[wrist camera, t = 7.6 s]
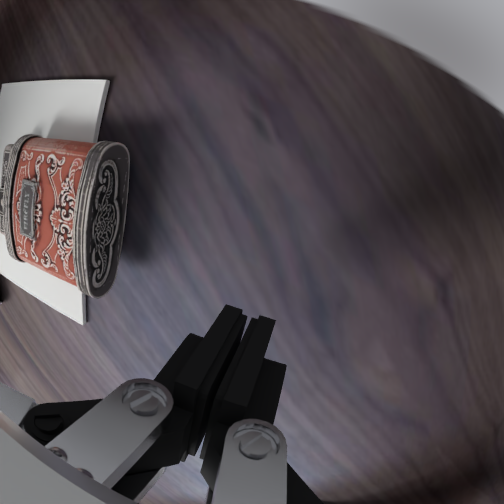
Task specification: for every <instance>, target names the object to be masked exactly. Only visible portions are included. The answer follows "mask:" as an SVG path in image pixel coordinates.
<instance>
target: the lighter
mask: <svg viewBox="0 0 504 504" xmlns="http://www.w3.org/2000/svg"><path fill="white" fill-rule="evenodd" d="M129 167H130V156H129V152H128V149H127V148H126V146H125V145H124V144H121V143H119V142H111V141H101V142H98V143H90V142H81V141H72V140H61V139H50V138H43V137H42V136H40V135H36V134H27V135H23V136H22V137H20V138H19V139H18V140H17V141H16V142H15V143H14V144H8V145H7V146H6V147H5V149H4V154H3V163H2V174H1V188H0V232H1V234H3V235H5V239H6V245H7V250H8V253H9V255H10V256H11V257H12V258H13V259H15V260H17V261H19V262H22V263H25V262H27V263H29V264H31V265H33V266H35V267H37V268H39V269H41V270H43V271H45V272H47V273H49V274H51V275H53V276H55V277H57V278H59V279H61V280H63V281H66V282H68V283H70V284H72V285H74V286H76V287H78V290H79V291H81V292H82V293H84V294H86V295H88V296H90V297H93V298H97V299H99V298H101V297H103V296H105V295H106V294H107V293H108V292H109V290H110V289H111V288H112V286H113V284H114V282H115V279H116V275H117V270H118V264H119V259H120V253H121V248H122V241H123V233H124V226H125V220H126V209H127V198H128V186H129Z"/></svg>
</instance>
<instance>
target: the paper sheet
mask: <svg viewBox="0 0 504 504" xmlns="http://www.w3.org/2000/svg"><path fill="white" fill-rule="evenodd" d="M109 84H110V81H109V80H87V79H76V80H43V81H28V82H16V83H6V84H2V88H1V93H0V188H1V174H2V163H3V154H4V149H5V147H6V146H7V145H8V144H14V143H15V142H16V141H17V140H18V139H19V138H20V137H22V136H23V135H27V134H36V135H40V136H42V137H43V138H50V139H61V140H72V141H81V142H90V143H97V141H98V135H99V130H100V125H101V120H102V115H103V110H104V105H105V101H106V97H107V92H108V88H109ZM0 274H2V275H3V276H5V277H6V278H7V279H9V280H10V281H12V282H13V283H15V284H16V285H18V286H19V287H21V288H22V289H24V290H25V291H27V292H28V293H30V294H31V295H33V296H34V297H36V298H38V299H39V300H41V301H42V302H44V303H46V304H47V305H49V306H50V307H52V308H54V309H55V310H57V311H59V312H60V313H62V314H64V315H66V316H67V317H69V318H71V319H72V320H74V321H76V322H78V323H80V324H81V325H84V324H86V294H84V293H82V292H81V291H79V290H78V287H76V286H74V285H72V284H70V283H68V282H66V281H63V280H61V279H59V278H57V277H55V276H53V275H51V274H49V273H47V272H45V271H43V270H41V269H39V268H37V267H35V266H33V265H31V264H29V263H27V262H25V263H22V262H19V261H17V260H15V259H13V258H12V257H11V256H10V255H9V253H8V250H7V245H6V239H5V235H3V234H1V232H0Z"/></svg>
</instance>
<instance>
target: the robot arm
mask: <svg viewBox="0 0 504 504" xmlns="http://www.w3.org/2000/svg"><path fill="white" fill-rule="evenodd" d="M246 320H247V316H246V315H243V314H242V309H239V308H236V307H233V306H230V305H225V307H224V308H223V310H222V311H221V313H220V314H219V316H218V317H217V319H216V320H215V322H214V323H213V325H212V326H211V328H210V329H209V331H208V332H207V334H206V335H205V337H204V338H203V337H200V336H197V335H195V334H192V333H190V334H189V335H188V336H187V337H186V338H185V340H184V341H183V342H182V344H181V345H180V346H179V347H178V349H177V350H176V351H175V353H174V354H173V355H172V357H171V358H170V359H169V361H168V362H167V363H166V365H165V366H164V367H163V369H162V370H161V371H160V372H159V374H158V375H157V376H156V378H155V379H154V380H150V379H145V378H138V379H132V380H128V381H126V382H125V383H123V384H121V385H120V386H119V387H118V388H116V389H115V390H114V391H113V392H111V393H110V394H109V395H108V396H107V397H105V398H104V399H96V400H85V401H73V402H57V403H44V404H37V403H36V402H35V400H34V399H33V398H31V397H28V396H26V395H24V394H22V393H20V392H18V391H16V390H14V389H12V388H10V387H8V386H6V385H5V384H3V383H1V382H0V504H139V502H140V501H141V499H142V498H143V497H144V496H145V495H146V494H147V492H148V491H149V490H150V489H151V488H152V486H153V485H154V484H155V483H156V482H157V480H158V479H159V478H160V477H161V476H162V474H163V473H164V472H165V470H166V468H167V466H171V465H175V464H179V462H180V461H182V462H185V460H186V458H187V456H188V454H190V455H192V456H195V454H196V452H197V450H198V448H199V446H200V444H201V442H202V440H203V438H204V435H205V438H204V442H203V446H202V450H201V454H200V459H203V460H204V461H203V464H202V468H201V474H202V475H203V477H204V479H205V480H206V482H207V484H208V485H209V487H208V490H207V495H206V500H205V504H323V502H322V501H321V500H320V499H319V498H318V497H317V496H316V495H315V494H314V493H313V491H312V490H311V489H310V488H309V487H308V486H307V485H306V484H305V482H304V481H303V480H302V479H301V478H300V477H299V475H298V474H297V473H296V472H295V471H294V470H293V468H292V467H291V466H290V465H289V464H288V463H287V444H286V439H285V437H284V435H283V434H282V432H281V431H280V430H279V429H278V428H277V427H275V426H274V425H273V423H274V419H275V415H276V411H277V407H278V403H279V398H280V394H281V390H282V385H283V381H284V376H285V372H286V367H287V365H285V364H282V363H278V362H275V361H272V360H269V359H265V358H264V356H265V353H266V350H267V346H268V343H269V340H270V337H271V334H272V331H273V328H274V325H275V321H276V320H273V319H270V318H267V317H264V316H261V315H260V316H259V318H258V319H256V318H252V319H251V321H250V323H249V325H248V327H247V329H246V332H245V334H244V336H243V338H242V335H243V331H244V327H245V324H246ZM241 338H242V340H241ZM205 433H206V434H205Z"/></svg>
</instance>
